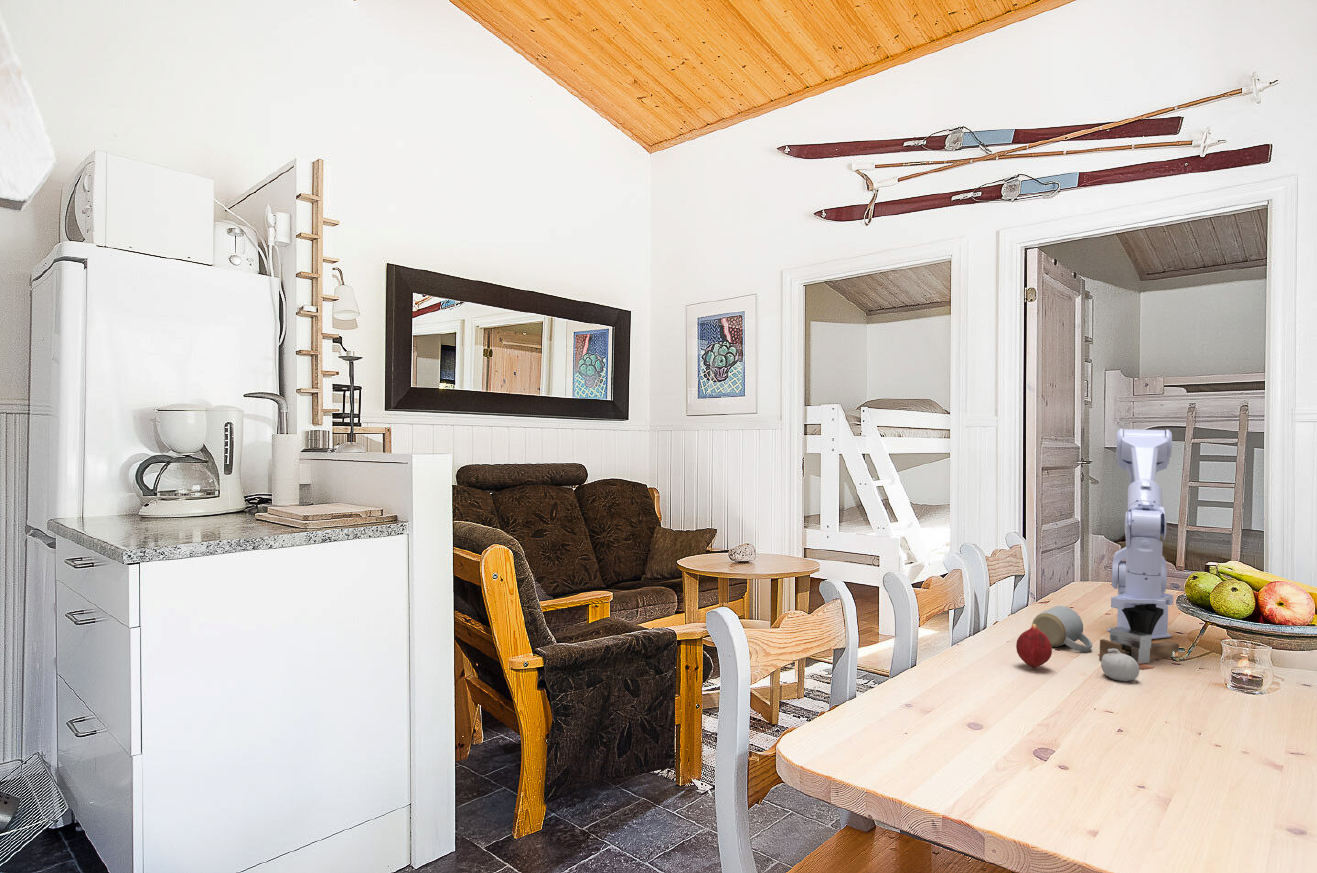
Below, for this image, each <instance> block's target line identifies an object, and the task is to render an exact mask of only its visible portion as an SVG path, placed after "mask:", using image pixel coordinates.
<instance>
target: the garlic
mask: <svg viewBox="0 0 1317 873" xmlns="http://www.w3.org/2000/svg"><path fill="white" fill-rule="evenodd" d="M1108 652H1117V653H1108V654H1104V655H1103V657H1102V661H1100V667H1101V670H1102V671H1103V673H1104V674H1105V675H1106V676H1107V677H1109V678H1110V679H1112V680H1114V681H1119V682H1130V681H1134V680H1136V679H1137V678H1138V677H1139V674H1140V669H1139V665H1138V663H1137V662H1136V661H1135V660H1134V659H1133V658H1132V657H1131V656H1128V655H1126V654H1122V653H1120V651H1119V650H1118V649H1108Z"/></svg>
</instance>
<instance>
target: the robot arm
mask: <svg viewBox="0 0 1317 873" xmlns="http://www.w3.org/2000/svg"><path fill="white" fill-rule="evenodd" d="M1116 431H1117V432H1116V454H1115V455H1116V463H1117V467H1119V468H1120V469H1123V470H1125V471H1126V472H1127V474H1128V477H1129V485H1128V487H1127V511H1125V514H1124V515H1125V517H1124V535H1125V547H1123V548H1121V549H1118V550H1117V551H1115V552H1114V554H1113V557H1112V558H1113V559H1112V565H1111V567H1112V569H1111V586H1112V587H1113V589H1114V590H1117V595H1116V596H1111V597H1110V608H1113V609H1117V613H1116V614H1117V619H1116V622H1117V623H1116V627H1124V628H1128V629H1132V630H1135V631H1139V632H1143V633H1146V634H1150V635H1152V636H1151V640H1154V639H1165V638H1172V634H1170V633H1168V629H1169V628H1168V627H1169V626H1168V625H1169V606H1173V605H1174V594H1171V593H1170V594H1169V593H1166V591H1167V578H1168V574H1167V572H1168V570H1167V560H1166V559H1165V557H1164V556H1163V542H1165V539H1166V535H1167V515H1166V511H1165V507H1163V506H1164V505H1163V488H1162V486H1161V485H1160V484H1159V483H1158V482H1156V475H1157V472H1160V471H1164V470H1167V468H1168V465H1169V464H1170V459H1171V457H1172V450H1173V449H1172V448H1173V433H1172V431H1171V430H1170V429H1133V428H1132V429H1131V428H1130V429H1127V428H1126V429H1123V428H1119V429H1118V430H1116ZM1161 536H1162V540H1161ZM1110 628H1111V627H1109V628H1107V632H1110Z"/></svg>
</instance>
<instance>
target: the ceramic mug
mask: <svg viewBox="0 0 1317 873" xmlns="http://www.w3.org/2000/svg"><path fill="white" fill-rule="evenodd" d="M1032 624H1036V625H1037V626H1038V629H1039V630H1040V631H1041V632H1043V633H1044V634H1045V635H1046V636H1047V638H1048V639H1049V641H1050V643H1051V646H1052V648H1056V647H1062V646H1064V645H1066V646H1067V647H1069V648H1070V649H1072V650H1074V651H1077V652H1080V653H1089V652H1090V651H1091V649H1092V647H1093V642H1092V641H1091V639H1090V638H1089V637H1088V636H1087V635H1085V634H1084V624H1083V621H1082V618H1081V616H1080V615H1079V613H1078V612H1077V611H1075V610H1074V609H1073V608H1070V607H1068V606H1066V605H1057V606H1053V607H1051V608H1049V609H1046V610H1045V611H1042V612H1040V613H1038V614H1037V615H1036V617H1035V618H1033V621H1032V623H1031V625H1032ZM1078 640H1079V641H1080V642H1082V644H1080V643H1078V642H1077V641H1078Z"/></svg>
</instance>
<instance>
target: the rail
mask: <svg viewBox="0 0 1317 873" xmlns="http://www.w3.org/2000/svg"><path fill="white" fill-rule="evenodd" d="M1108 649H1118V650H1119V651H1120V653H1122V654H1126V655H1128V656H1131V651H1132V647H1131V646H1126V649H1122V644H1119V643H1115V642H1112V641H1111V640H1108V639H1105V638H1102V639H1099V653H1097V656H1099V659H1098V660H1099V661H1100V662H1101V661H1102V657H1103V655H1104V654H1108V653H1117V652H1108ZM1173 651H1174V652H1175V653H1176V652H1178V651H1179V652H1180V643H1178V642H1173V641H1169V640H1167V641H1159V642H1151V648H1150V661H1157V660H1162V659H1164V660H1165V659H1171V658H1170V657H1171V655H1172V652H1173ZM1138 665H1139V670H1148V669H1154V668H1155V667H1154V666H1153V665H1149V664H1146V663H1141V664H1138Z"/></svg>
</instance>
